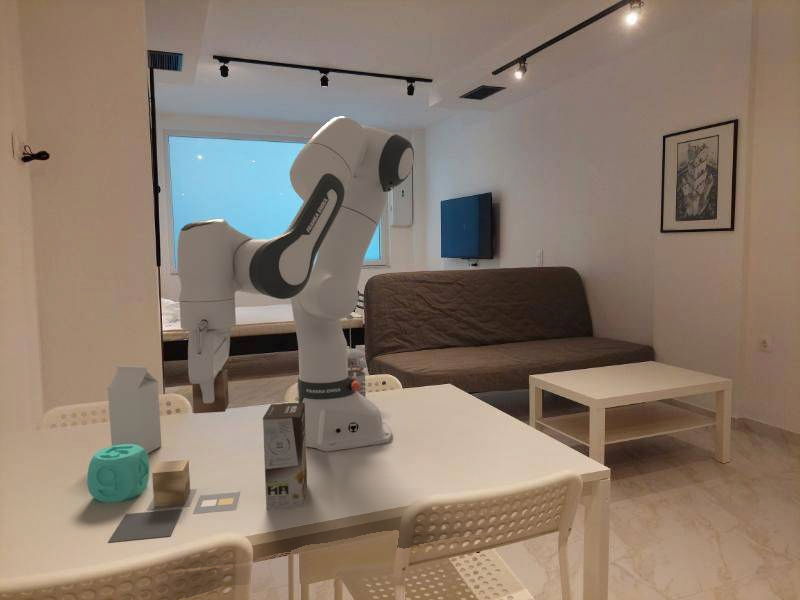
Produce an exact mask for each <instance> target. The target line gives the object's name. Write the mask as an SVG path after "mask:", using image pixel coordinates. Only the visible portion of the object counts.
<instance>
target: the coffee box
mask: <svg viewBox="0 0 800 600" xmlns="http://www.w3.org/2000/svg"><path fill="white" fill-rule="evenodd" d="M262 423H263V424H262V427H263V451H264V453H263V455H264V457H263V458H264V478H265V481H264V483H265V509H266V510H278V509H294V508H295V509H296V508H302V507H303V506H304V502H305V496H306V492H307V489H308V488H307V487H308V471H307V470H308V468H307V446H306V430H305V403H299V402H286V403H283V402H282V403H271V404H270V406H269V407H268V409H267V410H266V412H265V414H264V415H263V417H262Z"/></svg>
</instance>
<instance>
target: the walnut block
mask: <svg viewBox="0 0 800 600" xmlns="http://www.w3.org/2000/svg"><path fill="white" fill-rule="evenodd" d="M228 378H229V376H228V369H222V370H220V371H219V373H218V375H217V376H216V378H215V379H214V390H215V400H214V402H213V403H204V402H203V396H202V391H201V387H200V384H192V383H191V387H192V403H193V405H192V408H193V414H205V413H206V414H207V413H208V414H209V413H211V414H212V413H225V412H226V410H227V408H228V405H229V403H230V402H229V398H230V397H229V379H228Z"/></svg>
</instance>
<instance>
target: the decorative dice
mask: <svg viewBox="0 0 800 600" xmlns="http://www.w3.org/2000/svg"><path fill="white" fill-rule="evenodd" d="M149 457H150V456H149V453H148V454H147V452H146V451H145V450H144V449H143V448H142V447H140V446H139V445H135V444H122V445H115V446H112V445H111V446H108V447H104V448H102V449H100V450H98V451H96V452H95V453H94V454H93V456H92V458H91V459H90V461H89V465H88V468H87V469H88V470H87V477H86V478H87V479H86V481H87V489H88V492H89V494H90V495H91V496H92V497H93V498H94V499H95V500H96V501H99V502H101V503H118V502H119V503H120V502H124V501H127V500H130V499H134V498H136V497H139V496H140V495H141V494H143V493H144V491H145V490H147V489H146V488H147V486H148V483H149V477H150V458H149Z"/></svg>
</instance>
